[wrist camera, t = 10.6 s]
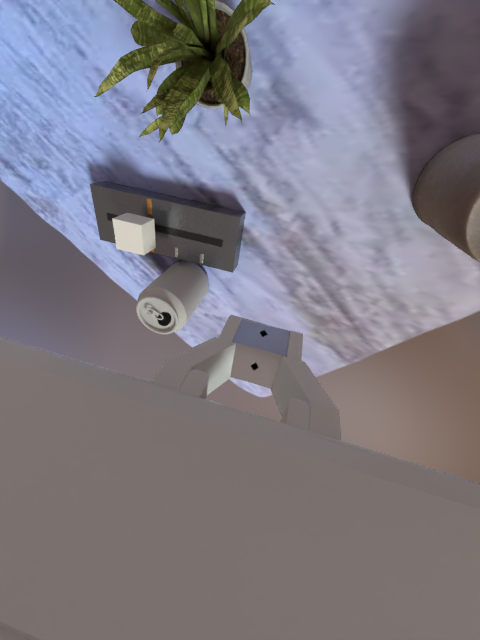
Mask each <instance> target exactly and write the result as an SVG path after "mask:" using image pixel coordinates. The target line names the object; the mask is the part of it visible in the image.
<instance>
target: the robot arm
mask: <svg viewBox="0 0 480 640" xmlns="http://www.w3.org/2000/svg"><path fill="white" fill-rule="evenodd" d="M302 342H303V334H302V333H298V332H294V331H288V330H284V329H280V328H276V327H273V326H269V325H266V324H262V323H259V322H255V321H252V320H248V319H245V318H241V317H238V316H234V315H230V316H229V318H228V320H227V322H226V324H225V326H224V328H223V330H222V332H221V334H220V336H219V338H216V337H215V338H212V339H210V340H208V341H206V342H204V343H202V344H199V345H197V346H195V347H193V348H191V349H188V350H186V351H184V352H182V353H180V354H178V355H175V356H173V357H171V358H169V359H167V360H166V361H165V362H164V364H163V365H162V367H161V368H160V370H159V371H158V372H157V374H156V375H155V377H154V378H153V380H152V381H151V382H148V381H145V380H141V379H138V378H134V377H132V376H128V375H125V374H121V373H118V372H115V371H112V370H108V369H105V368H102V367H99V366H96V365H92V364H89V363H86V362H83V361H79V360H76V359H73V358H69V357H66V356H63V355H60V354H56V353H53V352H50V351H47V350H43V349H40V348H37V347H34V346H30V345H27V344H24V343H20V342H17V341H14V340H11V339H8V338H4V337H1V336H0V640H480V483H477V482H474V481H471V480H468V479H465V478H461V477H458V476H455V475H452V474H448V473H445V472H442V471H439V470H435V469H432V468H429V467H425V466H422V465H419V464H415V463H412V462H409V461H406V460H402V459H399V458H396V457H393V456H390V455H386V454H383V453H380V452H376V451H373V450H370V449H366V448H363V447H360V446H357V445H353V444H350V443H347V442H344V441H341V430H340V416H339V410H338V409H337V407H336V406H335V404H334V403H333V401H332V400H331V399H330V397H329V396H328V394H327V393H326V392H325V390H324V389H323V387H322V386H321V384H320V383H319V382H318V380H317V379H316V377H315V376H314V374H313V373H312V372H311V370H310V369H309V367H308V366H307V365H306V363H305V362H303V361H301V356H302ZM230 377H233V378H236V379H240V380H244V381H248V382H251V383H254V384H257V385H261V386H264V387H267V388H270V389H271V391H272V394H273V396H274V399H275V401H276V404H277V406H278V409H279V411H280V414H281V416H282V419H281V421H280V422H278V421H275V420H272V419H269V418H266V417H262V416H259V415H256V414H252V413H249V412H246V411H243V410H239V409H236V408H233V407H230V406H226V405H223V404H220V403H216V402H213V401H210V400H207V399H206V397H207V395H208V394H209V393H211V392H212V391H213V390H215V389H216V388H217V387H219V386H220V385H221V384H222V383H224V382H225V381H226V380H228V379H229V378H230Z"/></svg>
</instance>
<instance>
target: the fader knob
mask: <svg viewBox="0 0 480 640" xmlns="http://www.w3.org/2000/svg"><path fill="white" fill-rule="evenodd" d="M112 221H113V227H114V234H115V241H116V247H117V249H120V250H124V251H128V252H132V253H136V254H140V255H145V254H147V253H148V252H150V251H151V250H153V249H154V248H156V241H155V223H154V219H152V218H148V217H144V216H140V215H135V214H131V213H125V214H122V215H120V216H117V217H115V218H112Z"/></svg>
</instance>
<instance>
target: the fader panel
mask: <svg viewBox="0 0 480 640" xmlns="http://www.w3.org/2000/svg"><path fill="white" fill-rule="evenodd" d="M90 187H91V192H92V197H93V203H94V208H95V214H96V219H97V224H98V230H99V235H100V240H104V241H108V242H112V243H116V241H115V234H114V227H113V221H112V218H115V217H117V216H120V215H122V214H125V213H131V214H135V215H140V216H144V217H148V218H152V219H154V223H155V241H156V248H154V249H153V250H151V251H150V252H152V253H156V254H160V255H165V256H169V257H173V258H177V259H181V260H185V261H189V262H193V263H197V264H201V265H205V266H209V267H213V268H217V269H221V270H225V271H229V272H233V271H234V270H235V268H236V266H237V265H238V259H239V253H240V246H241V239H242V233H243V226H244V219H245V213H246V212H241V211H237V210H232V209H228V208H223V207H219V206H214V205H210V204H205V203H201V202H196V201H191V200H187V199H182V198H178V197H173V196H169V195H164V194H160V193H155V192H151V191H146V190H141V189H137V188H132V187H128V186H123V185H119V184H114V183H110V182H105V181H103V182H98V183H93V184H90Z"/></svg>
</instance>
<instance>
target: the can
mask: <svg viewBox="0 0 480 640" xmlns="http://www.w3.org/2000/svg"><path fill="white" fill-rule="evenodd" d="M208 290H209V281H208V277H207V275H206V274H205V272H204V271H203V270H202V269H201V268H200V267H199V266H198V265H196V264H195V263H193V262H189V261H178V262H176V263H174V264H173V265H172V266H170V267H169V268H168V269H167V270H166V271H165V272H164V273H163V274H161V275H160V276H159V277H158V278H157V279H156V280H155V281H153V282H152V283H151V284H150V285H149V286H148V287H147V288H145V289H144V290H143V291H142V292H141V293H140V295H139V298H138V303H137V306H136V310H137V315H138V317H139V319H140V321H141V322H142V323H143V324H144V325H145V326H146V327H147V328H148V329H150V330H152V331H153V332H156V333H159V334H169V333H172V332H174V331H178V330H180V329H181V328H182V327H184V325H185V324H186V322H187V321H188V320H189V318H190V317H191V315H192V314H193V313H194V311H195V310H196V308H197V307H198V305H199V304H200V303H201V301H202V300H203V298H204V297H205V296H206V294H207V292H208Z"/></svg>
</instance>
